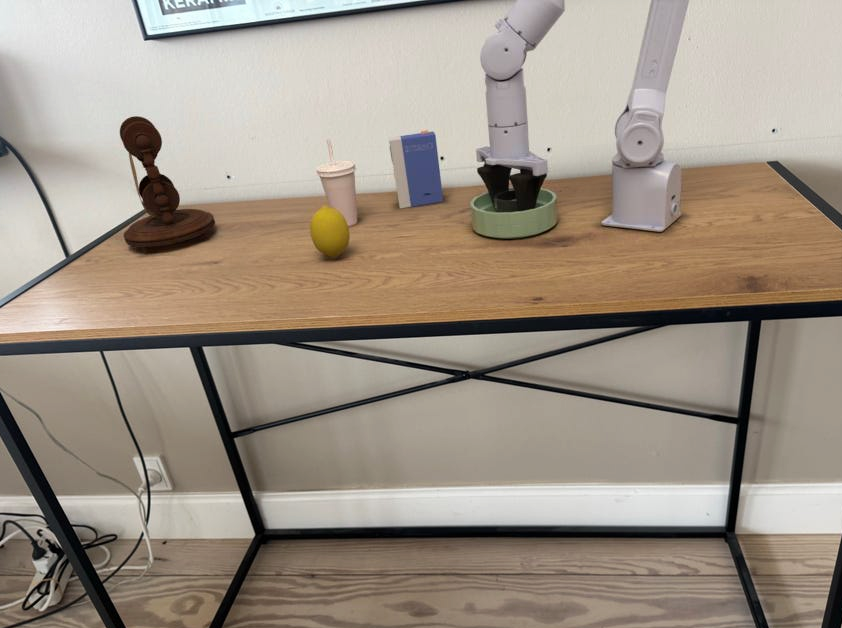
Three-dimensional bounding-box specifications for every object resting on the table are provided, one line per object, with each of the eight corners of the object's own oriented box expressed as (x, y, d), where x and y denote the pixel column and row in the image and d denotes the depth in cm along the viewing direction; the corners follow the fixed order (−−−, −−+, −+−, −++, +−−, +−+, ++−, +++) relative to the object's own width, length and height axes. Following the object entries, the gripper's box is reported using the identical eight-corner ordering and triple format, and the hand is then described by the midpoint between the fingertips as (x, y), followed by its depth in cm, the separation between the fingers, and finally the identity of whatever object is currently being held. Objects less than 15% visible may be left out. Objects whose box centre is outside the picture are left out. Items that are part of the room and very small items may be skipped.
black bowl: (539, 218, 108) (538, 191, 106) (520, 231, 104) (518, 202, 102) (509, 215, 111) (507, 188, 109) (489, 227, 107) (487, 199, 105)
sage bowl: (572, 217, 109) (571, 190, 107) (529, 245, 100) (528, 217, 98) (501, 209, 116) (500, 184, 114) (456, 235, 107) (453, 208, 105)
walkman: (441, 197, 125) (433, 129, 119) (443, 202, 123) (435, 132, 117) (398, 204, 124) (387, 135, 118) (399, 208, 122) (388, 138, 116)
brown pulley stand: (125, 238, 123) (83, 121, 113) (210, 219, 128) (176, 105, 118) (131, 262, 111) (85, 134, 101) (224, 240, 116) (188, 116, 106)
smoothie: (320, 228, 116) (302, 143, 110) (340, 216, 121) (324, 134, 115) (353, 230, 114) (337, 143, 107) (372, 217, 119) (357, 133, 112)
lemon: (360, 251, 105) (350, 199, 101) (342, 266, 100) (332, 212, 96) (328, 250, 107) (317, 199, 103) (309, 264, 102) (297, 212, 98)
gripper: (456, 123, 104) (465, 211, 110) (517, 134, 93) (523, 231, 100) (494, 114, 107) (500, 200, 114) (557, 124, 96) (560, 218, 103)
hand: (513, 214), depth 107 cm, fingers closed on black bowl, 6 cm apart
